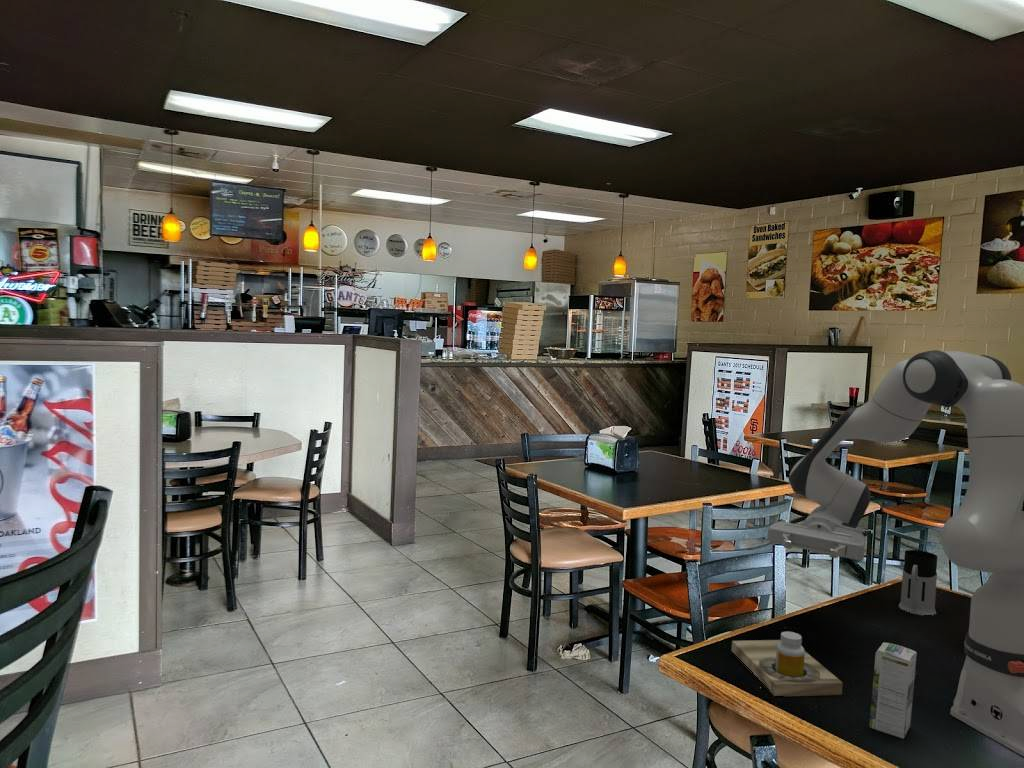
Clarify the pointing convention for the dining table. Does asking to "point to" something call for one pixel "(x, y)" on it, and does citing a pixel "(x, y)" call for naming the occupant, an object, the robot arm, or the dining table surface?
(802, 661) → the supplement bottle
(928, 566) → the glass holder
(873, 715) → the syrup box
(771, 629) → the dining table surface
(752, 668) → the plate
